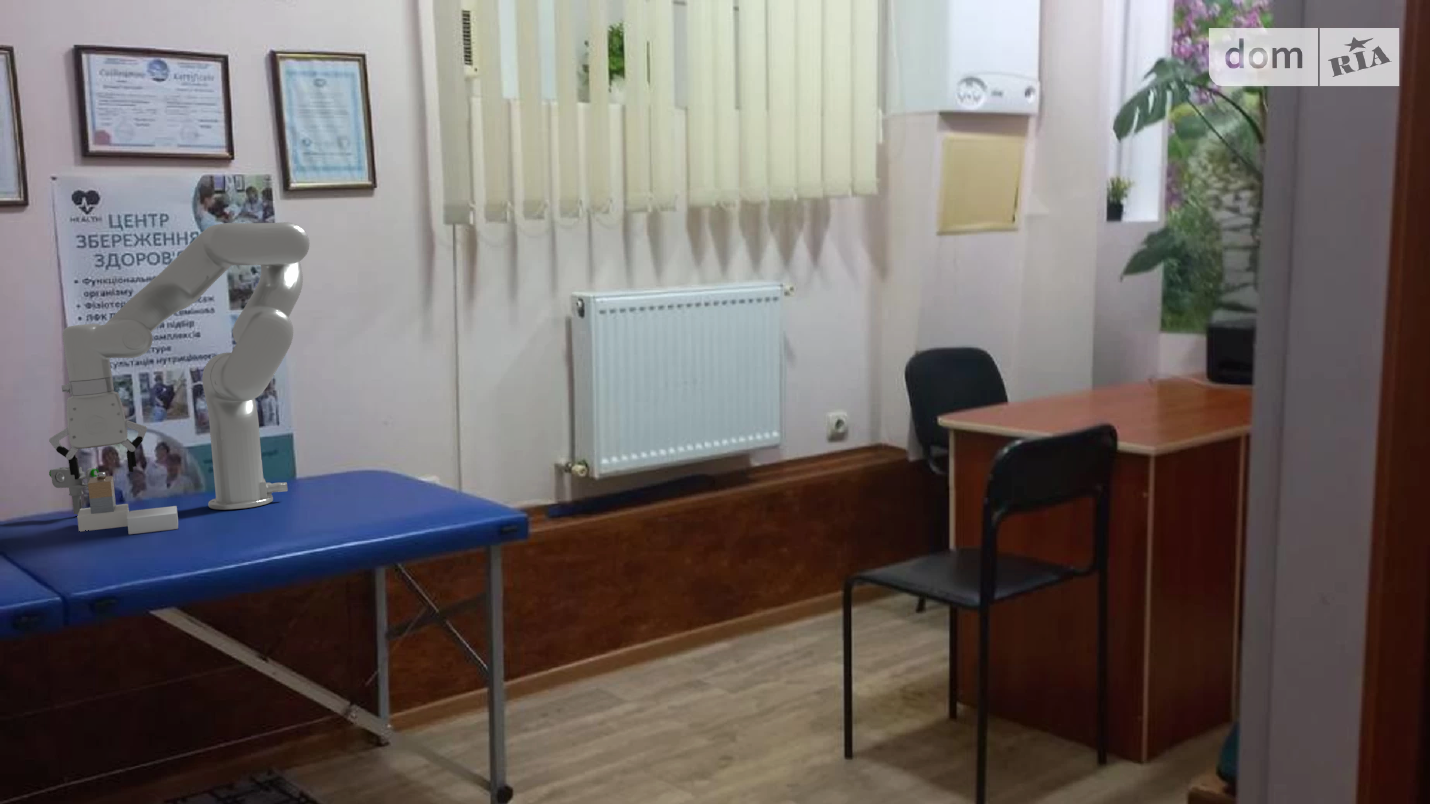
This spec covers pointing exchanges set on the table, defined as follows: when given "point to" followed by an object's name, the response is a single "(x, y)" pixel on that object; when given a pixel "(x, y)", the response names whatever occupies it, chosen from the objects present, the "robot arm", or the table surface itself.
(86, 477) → the mechanical component
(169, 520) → the stand
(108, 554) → the table surface
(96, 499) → the housing
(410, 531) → the table surface
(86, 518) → the stand
